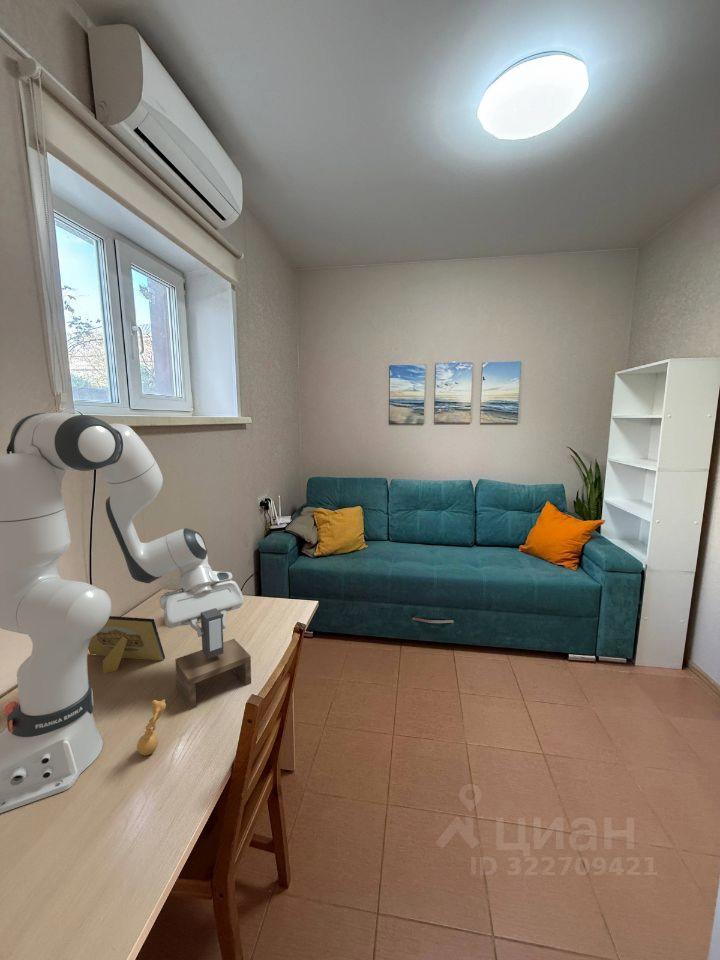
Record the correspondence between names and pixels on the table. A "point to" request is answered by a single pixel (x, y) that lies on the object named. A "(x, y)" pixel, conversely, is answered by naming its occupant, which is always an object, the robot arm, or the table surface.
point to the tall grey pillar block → (212, 633)
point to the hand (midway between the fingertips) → (212, 632)
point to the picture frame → (126, 641)
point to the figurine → (151, 730)
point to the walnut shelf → (210, 668)
